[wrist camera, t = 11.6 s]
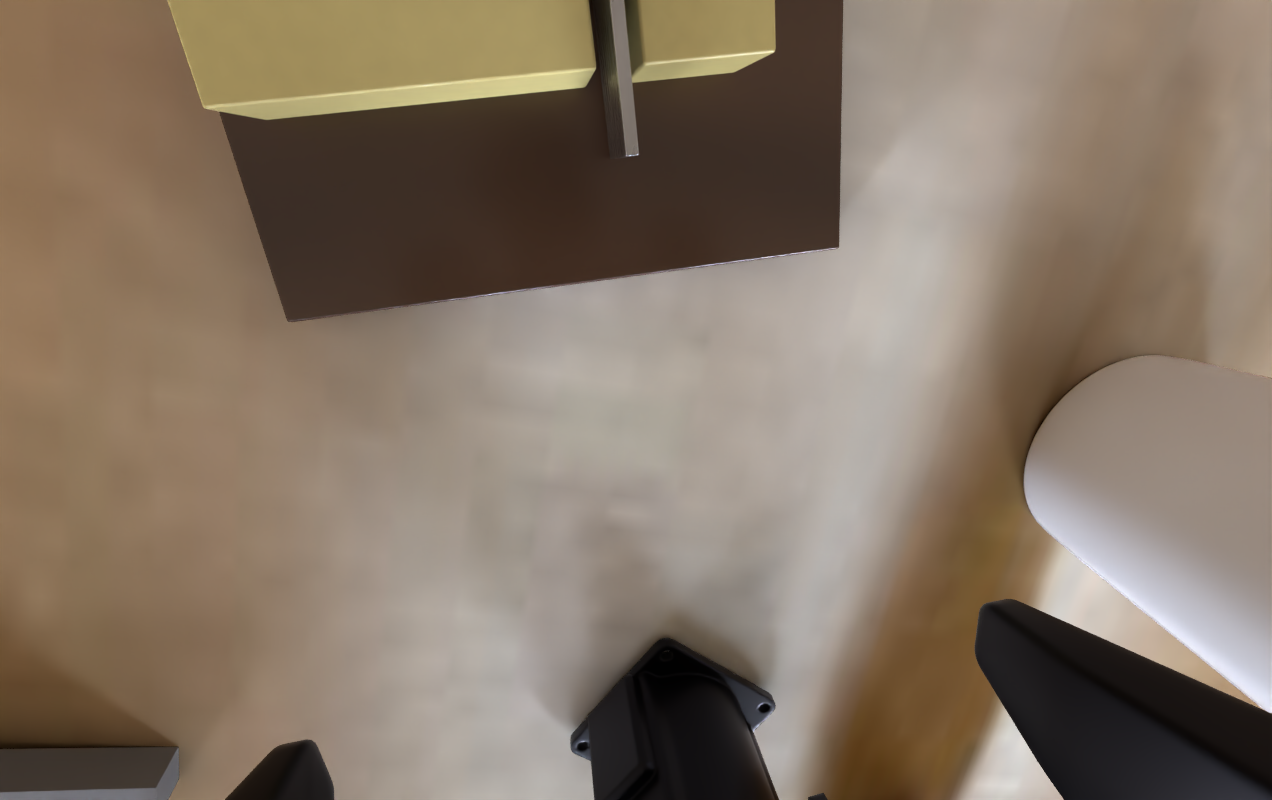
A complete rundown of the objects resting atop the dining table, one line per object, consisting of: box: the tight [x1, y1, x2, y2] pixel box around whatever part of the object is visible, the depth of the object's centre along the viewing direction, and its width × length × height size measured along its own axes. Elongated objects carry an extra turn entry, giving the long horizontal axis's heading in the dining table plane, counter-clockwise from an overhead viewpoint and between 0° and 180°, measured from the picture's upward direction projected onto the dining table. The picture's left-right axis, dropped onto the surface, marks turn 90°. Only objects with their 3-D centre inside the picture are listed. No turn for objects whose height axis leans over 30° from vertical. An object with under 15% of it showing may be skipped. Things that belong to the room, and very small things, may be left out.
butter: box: [167, 0, 596, 120], centre depth 13 cm, size 4×8×3 cm, turn 96°
